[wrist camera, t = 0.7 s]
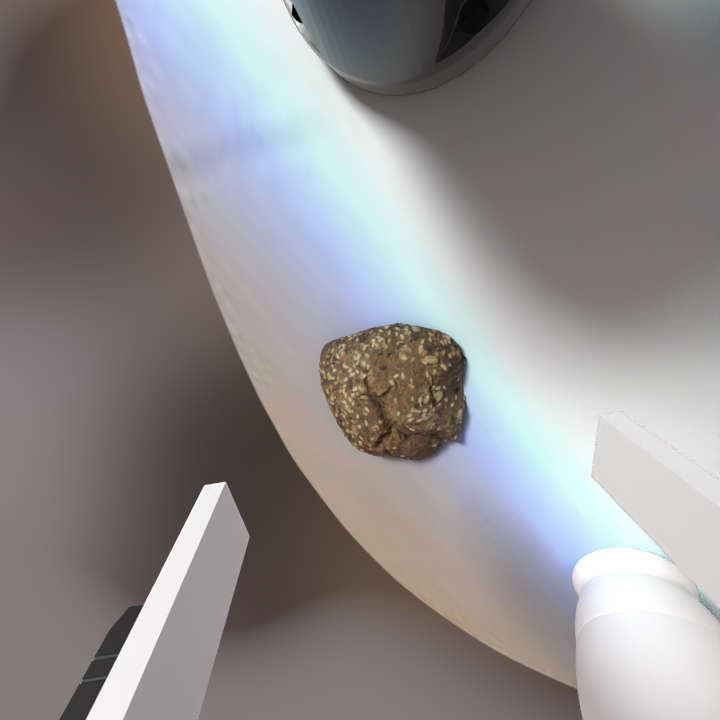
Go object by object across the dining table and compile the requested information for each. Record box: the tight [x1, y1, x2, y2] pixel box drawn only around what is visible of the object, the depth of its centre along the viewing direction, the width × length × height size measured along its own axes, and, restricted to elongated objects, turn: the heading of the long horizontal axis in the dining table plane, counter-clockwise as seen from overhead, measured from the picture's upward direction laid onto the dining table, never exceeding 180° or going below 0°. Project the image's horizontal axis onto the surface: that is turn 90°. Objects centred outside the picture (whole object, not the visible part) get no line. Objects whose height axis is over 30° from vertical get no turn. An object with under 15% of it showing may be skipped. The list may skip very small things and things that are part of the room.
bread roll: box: [319, 323, 466, 461], centre depth 27 cm, size 13×12×5 cm
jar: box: [572, 548, 720, 720], centre depth 21 cm, size 11×10×15 cm
